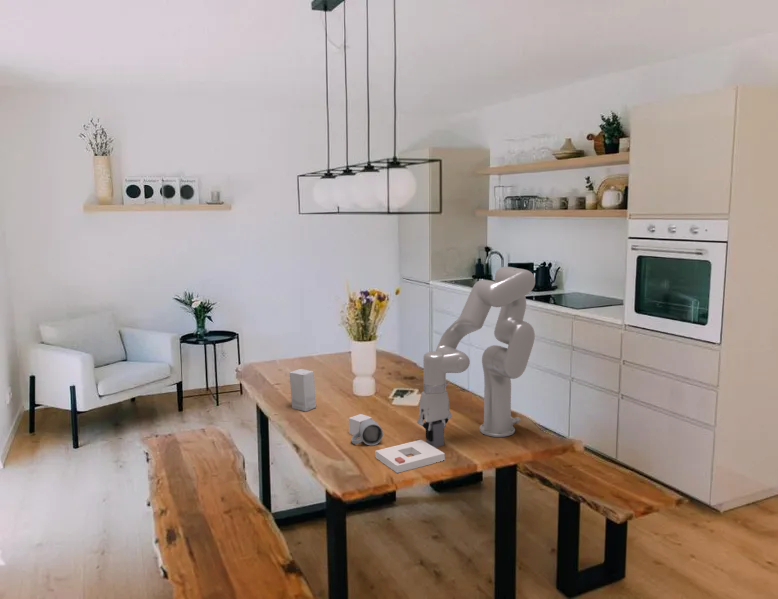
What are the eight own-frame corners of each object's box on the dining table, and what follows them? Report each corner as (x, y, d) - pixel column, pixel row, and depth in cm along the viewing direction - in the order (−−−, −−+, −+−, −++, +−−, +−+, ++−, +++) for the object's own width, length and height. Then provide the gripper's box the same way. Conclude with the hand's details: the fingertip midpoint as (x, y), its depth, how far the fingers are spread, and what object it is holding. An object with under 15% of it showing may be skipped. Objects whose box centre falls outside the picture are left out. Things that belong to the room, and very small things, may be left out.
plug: (435, 440, 223) (435, 414, 222) (443, 445, 219) (443, 418, 218) (426, 442, 222) (426, 416, 220) (434, 447, 217) (434, 420, 216)
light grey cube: (372, 433, 232) (372, 417, 231) (360, 437, 227) (359, 421, 226) (361, 429, 236) (360, 413, 235) (349, 433, 232) (348, 417, 231)
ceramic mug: (378, 435, 229) (377, 415, 227) (383, 444, 221) (382, 423, 220) (349, 439, 226) (348, 419, 225) (353, 448, 218) (352, 427, 217)
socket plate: (421, 446, 219) (421, 437, 218) (444, 460, 207) (444, 451, 206) (375, 457, 210) (375, 448, 209) (397, 473, 198) (397, 463, 197)
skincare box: (316, 408, 260) (315, 371, 257) (304, 412, 255) (303, 374, 252) (302, 404, 265) (301, 367, 262) (290, 408, 260) (289, 371, 257)
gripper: (448, 381, 224) (448, 430, 227) (408, 389, 216) (408, 440, 219) (461, 386, 218) (460, 437, 221) (420, 395, 210) (420, 447, 213)
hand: (434, 438), depth 220 cm, fingers closed on plug, 4 cm apart
